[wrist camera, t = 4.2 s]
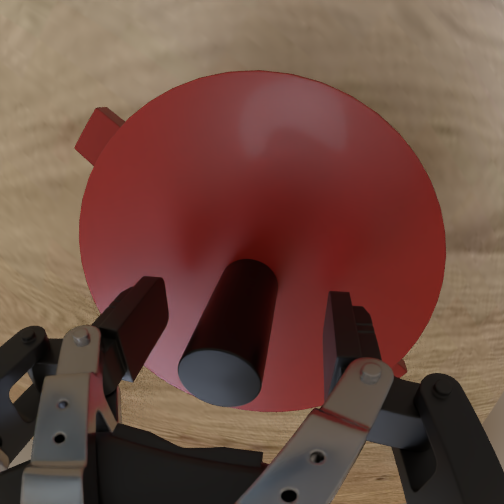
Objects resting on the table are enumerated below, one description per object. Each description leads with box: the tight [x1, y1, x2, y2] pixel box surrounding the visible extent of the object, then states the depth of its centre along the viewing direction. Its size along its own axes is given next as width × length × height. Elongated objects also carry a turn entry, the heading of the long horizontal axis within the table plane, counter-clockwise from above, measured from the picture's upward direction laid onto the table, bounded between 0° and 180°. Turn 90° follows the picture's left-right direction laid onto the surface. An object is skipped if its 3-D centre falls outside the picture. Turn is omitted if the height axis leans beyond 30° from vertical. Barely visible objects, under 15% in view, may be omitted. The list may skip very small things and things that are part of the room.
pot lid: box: [79, 70, 446, 412], centre depth 11 cm, size 17×17×7 cm
